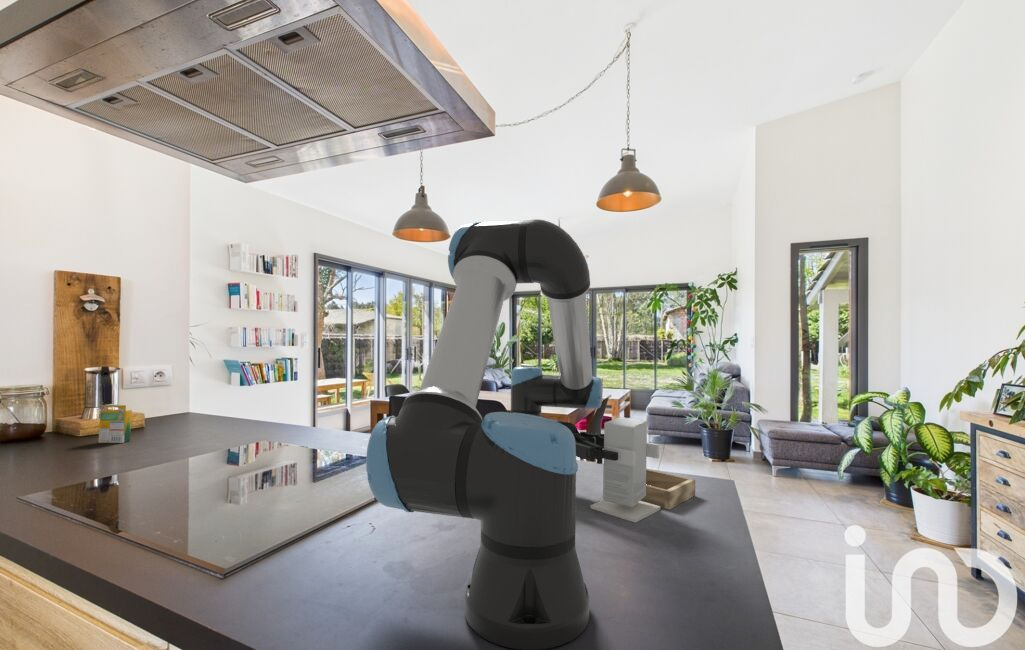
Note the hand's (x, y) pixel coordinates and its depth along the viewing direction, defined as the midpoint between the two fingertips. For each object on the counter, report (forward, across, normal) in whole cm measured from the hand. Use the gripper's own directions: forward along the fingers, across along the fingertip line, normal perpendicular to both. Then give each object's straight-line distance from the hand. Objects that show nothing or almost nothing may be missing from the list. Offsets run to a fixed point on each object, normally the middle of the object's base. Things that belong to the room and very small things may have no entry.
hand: (646, 455), depth 88 cm
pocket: (-5, -12, -12) cm, 18 cm away
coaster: (-5, 0, -12) cm, 12 cm away
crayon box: (-145, +67, -12) cm, 160 cm away
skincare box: (-5, 0, -10) cm, 11 cm away
